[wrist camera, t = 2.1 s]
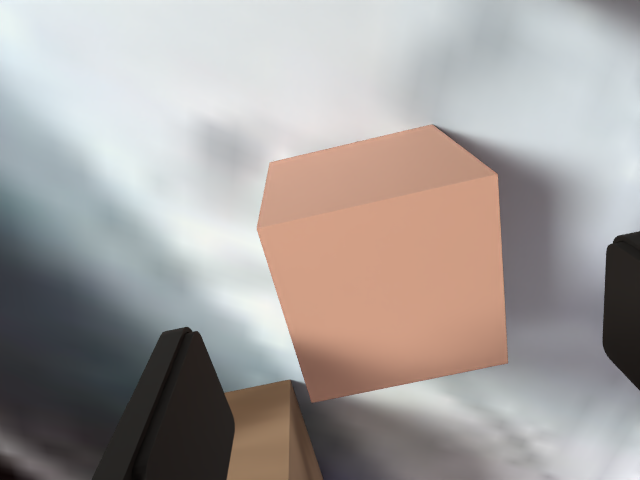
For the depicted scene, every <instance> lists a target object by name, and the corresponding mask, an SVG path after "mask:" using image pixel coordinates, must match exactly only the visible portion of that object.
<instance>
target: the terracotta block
mask: <svg viewBox="0 0 640 480" xmlns="http://www.w3.org/2000/svg"><path fill="white" fill-rule="evenodd" d="M257 231H258V234H259V238H260V241H261V244H262V247H263V250H264V253H265V257H266V260H267V263H268V266H269V269H270V272H271V276H272V279H273V282H274V285H275V288H276V291H277V295H278V298H279V301H280V304H281V307H282V310H283V314H284V317H285V320H286V323H287V326H288V329H289V333H290V336H291V339H292V342H293V345H294V349H295V352H296V355H297V358H298V361H299V364H300V368H301V371H302V374H303V377H304V380H305V383H306V387H307V390H308V393H309V396H310V399H311V402H312V403H314V402H319V401H324V400H329V399H334V398H339V397H344V396H349V395H354V394H359V393H364V392H369V391H374V390H378V389H383V388H388V387H393V386H398V385H403V384H408V383H413V382H418V381H423V380H428V379H433V378H438V377H443V376H448V375H452V374H457V373H462V372H467V371H472V370H477V369H482V368H487V367H492V366H497V365H502V364H507V363H508V353H507V335H506V317H505V298H504V280H503V262H502V243H501V225H500V207H499V189H498V174H497V173H496V172H494V171H493V170H492V169H490V168H489V167H488V166H486V165H485V164H484V163H482V162H481V161H480V160H478V159H477V158H476V157H475V156H473V155H472V154H471V153H469V152H468V151H467V150H465V149H464V148H463V147H461V146H460V145H459V144H457V143H456V142H455V141H453V140H452V139H451V138H449V137H448V136H447V135H446V134H444V133H443V132H442V131H440V130H439V129H438V128H436V127H435V126H434V125H427V126H423V127H419V128H415V129H410V130H406V131H402V132H397V133H393V134H389V135H385V136H380V137H376V138H372V139H368V140H363V141H359V142H355V143H351V144H346V145H342V146H338V147H333V148H329V149H325V150H321V151H316V152H312V153H308V154H304V155H299V156H295V157H291V158H287V159H282V160H278V161H274V162H270V163H269V168H268V174H267V179H266V184H265V189H264V194H263V199H262V204H261V209H260V214H259V219H258V224H257Z"/></svg>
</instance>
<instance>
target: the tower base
mask: <svg viewBox="0 0 640 480" xmlns="http://www.w3.org/2000/svg"><path fill="white" fill-rule="evenodd" d="M224 394H225V397H226V399H227V401H228V404H229V406H230V409H231V411H232V414H233V417H234V422H235V433H234V439H233V445H232V451H231V457H230V463H229V469H228V475H227V480H323V477H322V474H321V471H320V468H319V465H318V462H317V459H316V456H315V453H314V450H313V447H312V444H311V441H310V438H309V435H308V432H307V429H306V426H305V423H304V419H303V416H302V413H301V410H300V407H299V404H298V401H297V398H296V395H295V392H294V389H293V386H292V383H291V380H285V381H280V382H275V383H270V384H266V385H261V386H256V387H251V388H246V389H241V390H236V391H231V392H226V393H224Z"/></svg>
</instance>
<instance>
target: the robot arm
mask: <svg viewBox="0 0 640 480" xmlns="http://www.w3.org/2000/svg"><path fill="white" fill-rule="evenodd" d="M603 347H604V350H605V353H606V354H607V356H608V357H609V359H610V360H611V361H612V362H613V363H614V364H615V365H616V366H617V367H618V368H619V369H620V370H621V371H622V372H623V373H624V374H625V376H626V377H627V378H628V379H629V380H630V381H631V382H632V383H633V384H634V385H635V386H636V387H637V388H638V389H639V390H640V231H639V232H634V233H629V234H625V235H620V236H617V237H616V238H615V239H614V241H613V244H610V245H609V246H608V247H607V251H606V272H605V295H604V319H603ZM234 433H235V422H234V417H233V414H232V411H231V409H230V406H229V404H228V401H227V399H226V397H225V394H224V392H223V389H222V387H221V384H220V382H219V379H218V377H217V374H216V372H215V369H214V367H213V364H212V362H211V359H210V357H209V354H208V352H207V349H206V347H205V344H204V342H203V339H202V337H201V335H200V333H199V332H198V331H195V332H192V330H191V329H190V328H189V327H184V328H179V329H174V330H169V331H165V332H163V333H162V334H161V336H160V338H159V340H158V342H157V344H156V346H155V348H154V351H153V353H152V355H151V357H150V359H149V361H148V363H147V365H146V367H145V370H144V372H143V374H142V376H141V378H140V380H139V382H138V384H137V386H136V389H135V391H134V393H133V395H132V397H131V399H130V401H129V403H128V404H127V406H126V409H125V411H124V413H123V415H122V417H121V419H120V421H119V423H118V425H117V428H116V430H115V432H114V434H113V436H112V438H111V440H110V442H109V444H108V447H107V449H106V451H105V453H104V455H103V457H102V459H101V461H100V463H99V465H98V468H97V470H96V472H95V474H94V476H93V478H92V480H227V475H228V469H229V463H230V457H231V451H232V445H233V439H234Z"/></svg>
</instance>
